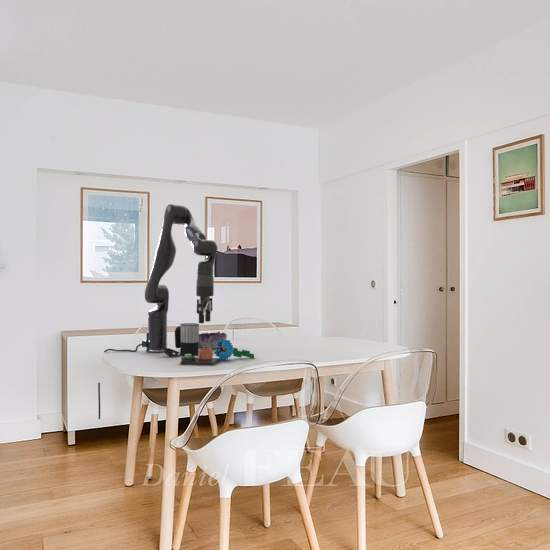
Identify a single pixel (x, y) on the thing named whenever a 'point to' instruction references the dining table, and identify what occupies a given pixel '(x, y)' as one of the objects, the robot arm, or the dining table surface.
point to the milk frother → (185, 340)
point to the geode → (210, 340)
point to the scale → (198, 361)
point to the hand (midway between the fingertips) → (204, 322)
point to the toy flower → (230, 350)
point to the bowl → (205, 353)
